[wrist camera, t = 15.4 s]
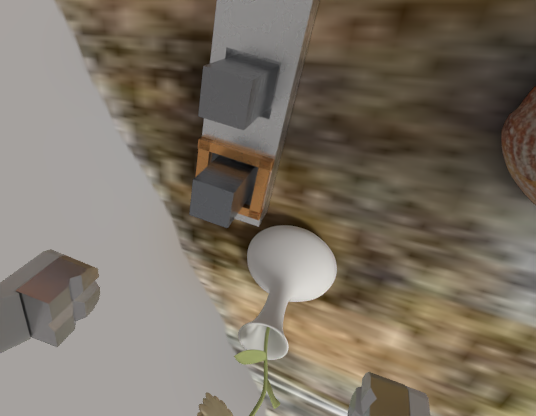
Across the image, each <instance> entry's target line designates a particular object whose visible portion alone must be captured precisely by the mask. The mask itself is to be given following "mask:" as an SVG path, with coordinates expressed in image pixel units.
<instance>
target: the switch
mask: <svg viewBox="0 0 536 416" xmlns="http://www.w3.org/2000/svg"><path fill="white" fill-rule="evenodd" d="M278 69H279V65H278V64H275V63H271V62H268V61H264V60H261V59H257V58H253V57H250V56H246V55H243V54H237V55H234V56H231V57H228V58H225V59H222V60H219V61H216V62H213V63H210V64H207V65H204V66H203V74H202V84H201V94H200V104H199V114H198V116H199V117H202V118H205V119H208V120H212V121H215V122H218V123H221V124H225V125H228V126H231V127H234V128H237V129H241V130H245V129H246V128H247V127H248V126H249V125H251V124H252V123H253V122H254V121H255V120H256V119H257V118H258V117H259V116H261V115H262V114H263V113H264V112H265V111H266V110H267V109H268V108H269V107H270V106H271V102H272V97H273V92H274V88H275V83H276V78H277V73H278Z"/></svg>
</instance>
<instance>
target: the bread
mask: <svg viewBox="0 0 536 416" xmlns="http://www.w3.org/2000/svg"><path fill="white" fill-rule="evenodd" d="M501 142H502V152H503V156H504V159H505V163H506V165H507V168H508V171H509V172H510V174H511V176H512V178H513V179H514V180H515V182H516V184H517V185H518V186H519V187H520V189H521V190H522V191H523V193H524V194H525V195H526V196H527V197H528V198H529V199H530V200H531V201H532V202H533V203H534V204H535V205H536V86H535V87H534V88H533V89H532V90H531V91H530V92H529V94H528V95H527V96H526V97H525V99H524V100H523V101H522V103H521V104H520V106H519V107H518V108H517V109H516V110H515V111H514V112H512V113H510V114H509V116H508V118H507V119H506V121H505V123H504V126H503V128H502V131H501Z"/></svg>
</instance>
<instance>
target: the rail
mask: <svg viewBox="0 0 536 416" xmlns="http://www.w3.org/2000/svg"><path fill="white" fill-rule="evenodd" d="M319 1H320V0H217V3H216V12H215V22H214V31H213V40H212V49H211V58H210V63H213V62H216V61H219V60H222V59H225V58H228V57H231V56H234V55H237V54H243V55H246V56H250V57H253V58H257V59H261V60H264V61H268V62H271V63H275V64H278V65H279V69H278V73H277V78H276V83H275V88H274V92H273V97H272V102H271V106H270V107H269V108H268V109H267V110H266V111H265V112H264V113H263V114H262V115H261V116H259V117H258V118H257V119H256V120H255V121H254V122H253V123H252V124H251V125H249V126H248V127H247V128H246V129H245V130H241V129H237V128H234V127H231V126H228V125H225V124H221V123H218V122H215V121H212V120H208V119H205V118H204V122H203V131H202V137H200V138H199V140H198V158H197V167H196V176H197V175H198V174H199V173H201V172H202V171H203V170H204V169H205V168H206V167H207V166H208V165H209V164H210V163H211V162H213V161H214V160H215V159H216V158H217V157H218V156H219V155H222V156H225V157H228V158H231V159H234V160H237V161H240V162H243V163H246V164H250V165H253V166H256V167H258V172H257V177H256V181H255V186H254V191H253V193H252V194H251V195H250V197H249V198H248V200H247V201H246V203H245V204H244V205H243V207H242V208H241V210H240V211H239V213H238V214H237V215H236V217H235V218H234V219H237V220H240V221H243V222H246V223H249V224H252V225H255V226H258V227H259V225H260V224H261V222H262V220H263V218H264V217H265V215H266V213H267V211H268V206H269V202H270V198H271V194H272V190H273V186H274V182H275V178H276V174H277V170H278V166H279V162H280V158H281V154H282V150H283V146H284V142H285V138H286V134H287V130H288V126H289V122H290V118H291V114H292V110H293V106H294V102H295V98H296V94H297V90H298V86H299V82H300V78H301V74H302V70H303V66H304V62H305V57H306V53H307V49H308V45H309V41H310V37H311V33H312V29H313V25H314V21H315V17H316V13H317V9H318V5H319Z"/></svg>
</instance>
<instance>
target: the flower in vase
mask: <svg viewBox="0 0 536 416" xmlns="http://www.w3.org/2000/svg"><path fill="white" fill-rule="evenodd" d="M247 262H248V268H249V271H250V273H251V275H252V277H253V278H254V280H255V281H256V282H257V283H258V285H259V286H260V287H261V288H262V289H264V290H265V291H266V292H267V293H269V295H268V298H267V301H266V303H265V305H264V307H263V309H262V311H261V312H260V314H259V315H258V316H257V318H256V319H255V320H253V321H252V322H249V323H247V324H245V325H243V326H242V327H241V328H240V330H239V333H238V338H239V341H240V343H241V345H242V346H243V347H244V348H245V349H246V351H243V352H240V353H238V354H237V355H235V356H234V357H235V358H236V360H237V361H238V362H239V363H241V364H253V363H257V362H261V361H264V385H263V391H262V394H261V397H260V399H259V401H258V402H257V404H256V406H255V407H254V409H253V411H252V412H251V414H250V415H249V416H254V415H255V413H256V412H257V410H258V409H259V407H260V405H261V403H262V401H263V399H264V397H265V394H266V389H267V392H268V394H269V397H270V400H271V402H272V405H273V408H274V409H275V408H277V407H278V406H279V405H280V403H279V401H278V400H277V399H276V398H275V396H274V394H273V391H272V388H271V385H270V383H269V380H268V379H267V376H268V369H267V360H275V359H279V358H282V357H283V356H285V355H286V353H287V352H288V342H287V339H286V337H285V335H284V333H283V319H284V313H285V309H286V306H287V304H288V301H291V302H301V301H309V300H312V299H315V298H317V297H319V296H321V295H323V294H324V293H325V292H326V291H327V290H328V289H329V288H330V287H331V285H332V284H333V282H334V280H335V277H336V273H337V265H336V260H335V257H334V255H333V253H332V251H331V250H330V248H329V247H328V245H327V244H326V243H325V242H324V241H323V240H322V239H320V238H319V237H318V236H317V235H315V234H314V233H312V232H310V231H308V230H306V229H303V228H300V227H296V226H289V225H279V226H273V227H269V228H267V229H264V230H262V231H261V232H259V233H258V234H257V235H256V236H255V237H254V238H253V239H252V241H251V242H250V244H249V247H248V252H247ZM199 410H200V412H199V413H198V414H197V416H233V414H232V412H231V411H230V410H229V409H227V406H226V405H225V403H224V402H223V401H222V400H219V399H218V398H217V397H216V396H214V397H213V396H212V395H211V394H209V393H206V398H203V404H199Z"/></svg>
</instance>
